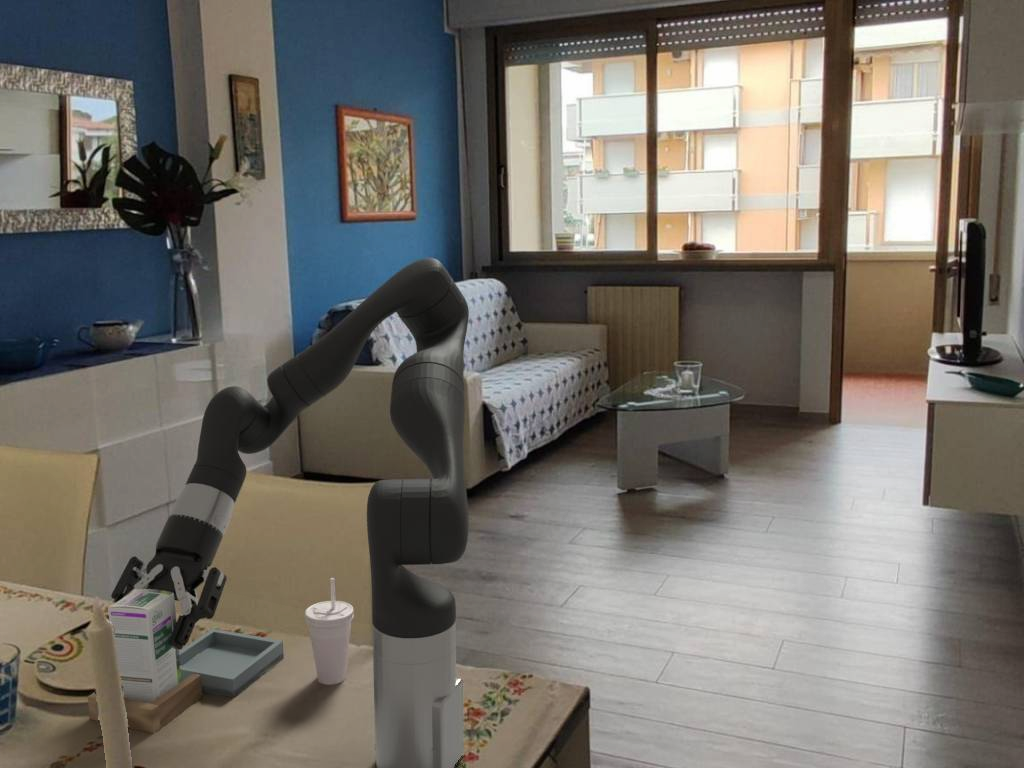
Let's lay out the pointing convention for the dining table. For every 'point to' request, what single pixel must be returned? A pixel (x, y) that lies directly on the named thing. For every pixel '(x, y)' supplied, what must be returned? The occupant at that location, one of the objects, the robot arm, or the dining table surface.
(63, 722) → the dining table surface
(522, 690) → the dining table surface
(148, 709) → the holder
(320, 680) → the smoothie
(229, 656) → the tray
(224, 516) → the robot arm
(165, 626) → the syrup box
